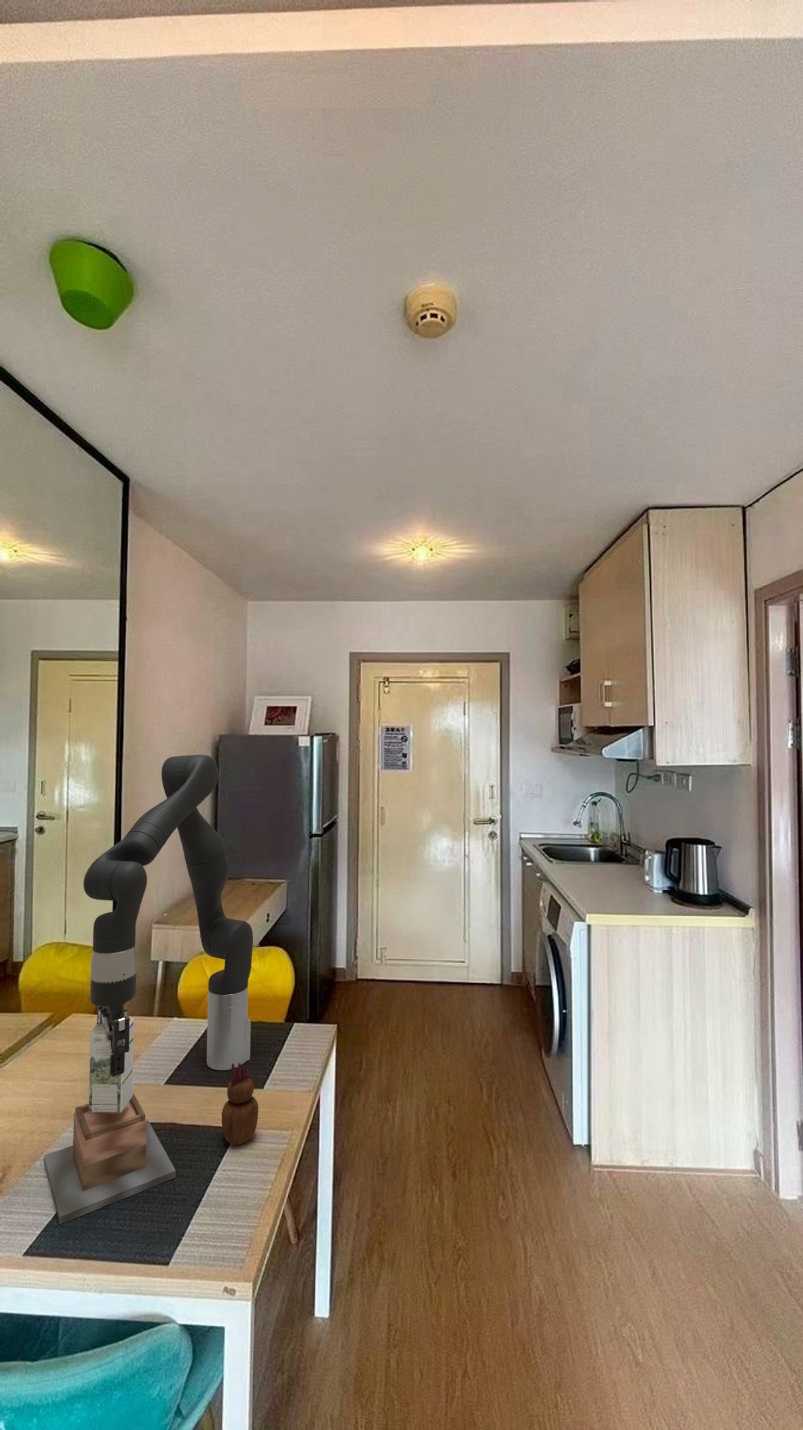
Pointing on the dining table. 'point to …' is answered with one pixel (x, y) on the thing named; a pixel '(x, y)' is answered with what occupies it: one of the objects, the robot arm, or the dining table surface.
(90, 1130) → the tower base
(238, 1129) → the wooden figurine
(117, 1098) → the syrup box
